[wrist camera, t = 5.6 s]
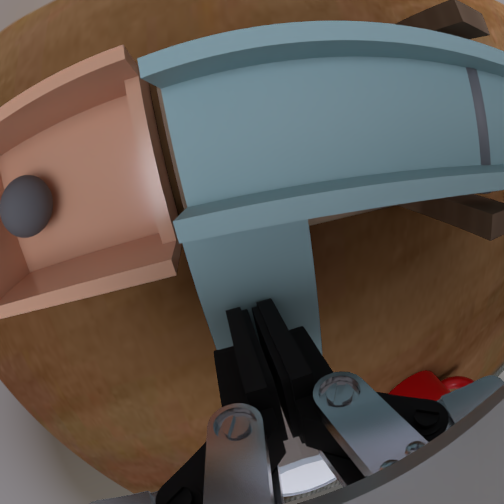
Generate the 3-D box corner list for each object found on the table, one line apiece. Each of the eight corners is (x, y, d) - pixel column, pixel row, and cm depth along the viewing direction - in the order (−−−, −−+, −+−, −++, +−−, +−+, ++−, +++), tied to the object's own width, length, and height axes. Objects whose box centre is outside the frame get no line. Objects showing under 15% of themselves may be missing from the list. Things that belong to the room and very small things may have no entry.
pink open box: (148, 80, 11) (123, 44, 6) (184, 235, 14) (176, 275, 9) (-4, 151, 10) (-60, 158, 6) (32, 279, 13) (-11, 321, 8)
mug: (451, 384, 25) (485, 422, 18) (372, 432, 25) (402, 482, 17) (464, 340, 23) (509, 380, 15) (376, 394, 22) (417, 454, 14)
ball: (33, 164, 9) (-17, 190, 8) (50, 231, 10) (1, 253, 9) (51, 166, 11) (8, 186, 10) (66, 220, 12) (22, 238, 11)
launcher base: (470, 65, 13) (550, 59, 5) (485, 182, 17) (565, 206, 9) (153, 62, 11) (106, -31, 3) (196, 250, 14) (194, 357, 7)
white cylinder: (227, 391, 18) (242, 476, 12) (320, 365, 19) (361, 438, 12) (248, 438, 21) (264, 504, 14) (324, 415, 21) (353, 477, 15)
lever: (557, 86, 6) (594, 89, 2) (553, 278, 10) (582, 300, 7) (152, 71, 8) (103, 42, 4) (234, 377, 12) (229, 438, 9)
